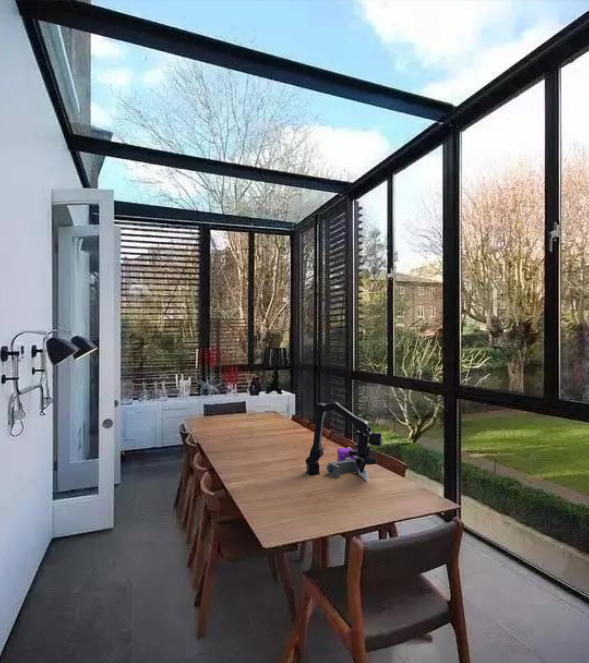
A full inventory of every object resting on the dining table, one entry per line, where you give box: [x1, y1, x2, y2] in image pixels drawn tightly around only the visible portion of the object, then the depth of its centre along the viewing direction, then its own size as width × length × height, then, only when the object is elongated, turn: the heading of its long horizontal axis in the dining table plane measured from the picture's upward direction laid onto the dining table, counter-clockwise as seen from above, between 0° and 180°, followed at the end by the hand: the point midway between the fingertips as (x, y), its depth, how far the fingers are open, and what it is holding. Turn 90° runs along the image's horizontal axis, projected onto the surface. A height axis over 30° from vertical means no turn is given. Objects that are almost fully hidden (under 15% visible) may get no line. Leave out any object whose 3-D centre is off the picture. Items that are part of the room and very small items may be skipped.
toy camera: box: [336, 446, 355, 461], centre depth 254 cm, size 11×14×10 cm
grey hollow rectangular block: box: [326, 459, 359, 479], centre depth 239 cm, size 17×9×6 cm, turn 117°
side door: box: [357, 467, 369, 481], centre depth 232 cm, size 11×1×5 cm, turn 12°
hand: (361, 472), depth 230 cm, fingers closed
